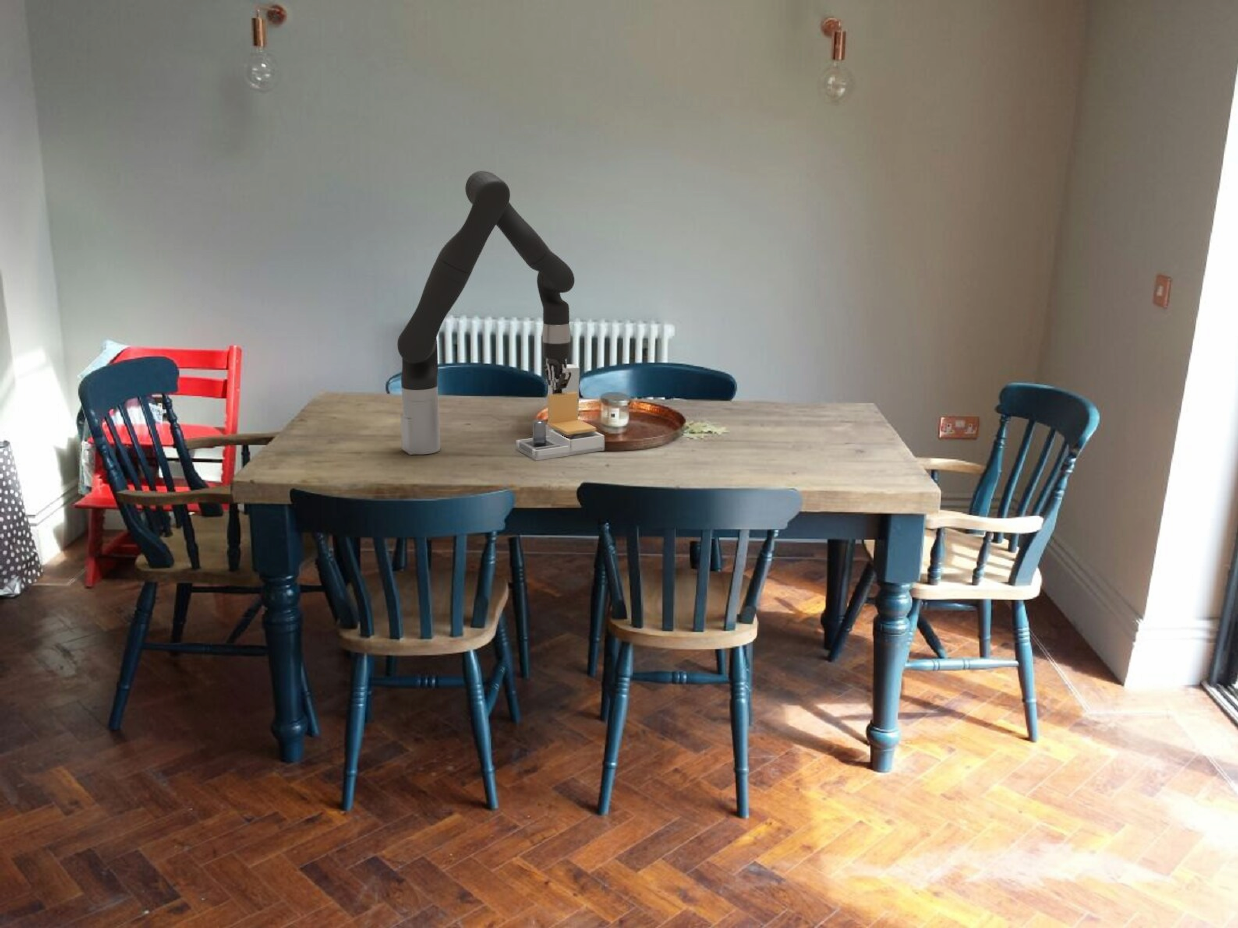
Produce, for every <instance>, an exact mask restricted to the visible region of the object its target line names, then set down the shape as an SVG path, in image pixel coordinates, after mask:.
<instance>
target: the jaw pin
mask: <svg viewBox="0 0 1238 928" xmlns="http://www.w3.org/2000/svg"><path fill="white" fill-rule="evenodd" d="M546 425H547V421H546V420H545V419H534V420H532V438H533V445H532V447H533V448H536V447H543V446H547V444H546Z"/></svg>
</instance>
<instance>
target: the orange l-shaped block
mask: <svg viewBox="0 0 1238 928" xmlns="http://www.w3.org/2000/svg"><path fill="white" fill-rule="evenodd" d="M546 425H548V426H550V427H552V428H554V429H556V430H558V431H560V432H562V433H564V434H566V435H569V434H576V433H583V432H591V431H596V432H597V427H595V426H593V425H591V424H589V423H587V422H584V421H583V420H581V419H579V415H578V393H576V392H567V393H558V394H550V395H548V394H547V421H546Z"/></svg>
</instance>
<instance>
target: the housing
mask: <svg viewBox="0 0 1238 928" xmlns="http://www.w3.org/2000/svg"><path fill="white" fill-rule="evenodd" d="M562 435H563V436H562ZM564 436H571V437H569V438H566V437H564ZM546 444H547V446H543V447H536V448H533V447H532V445H533V437H531V438H523V439H516V440H515V449H516V450H517V451H518V452H520V453H522V454H523V455H525V456H526V457H529V458H530V459H532V460H534V461H542V460H549V459H554V458H556V459H557V458H561V457H562V458H563V457H567V456H568V457H569V456H570V457H571V456H576V455H582V454H588V453H590V454H591V453H595V452H601V451H602V452H603V451H605V435H604V434H602V433H600V432H598V431H597V430H596V431H591V432H583V433H576V434H569V435H566V434H564V433H562V432H560V431H558V430H556V429H554V428H552V427H550V426H548V425H547V424H546Z"/></svg>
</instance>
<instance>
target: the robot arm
mask: <svg viewBox="0 0 1238 928" xmlns="http://www.w3.org/2000/svg"><path fill="white" fill-rule="evenodd" d="M464 188H465V189H464V190H465V195H466V198H467V199H468V201H469V203H470V204H471V207H470V211H469V213H468V216H467V217H466V220H465V221H464V223H463V225H462V226H461V228H460V229H459V230H458V231H457V232H456V234H454V236H453V235H452V237H451V238H450V239H449V240H448V241H447V242H446V244H445V245H443V247H442V249H441V250H440V252H439V253H438V256H437V258H436V259H435V262H434V264H433V266H432V268H431V270H430V273H429V276H428V277H427V280H426V282H425V285H424V288H423V291H422V294H421V296H420V300H419V302H418V304H417V306H416V308H415V310H414V312H413V314H412V316H411V318H410V319H409V320H408V323H407V324H406V325H405V327H404V328H403V330H402V332H401V333H400V334H399V336H398V337H397V338H398V339H397V351H398V353H399V356H400V357H401V363H402V364H401V365H402V366H401V367H402V368H401V376H400V384H401V386H400V387H401V402H402V403H401V405H402V414H400V433H401V448H402V450H403V451H404V452H405V453H407V454H408V455H430V454H435V453H438V452H439V451H440V450H441V435H440V416H439V415H440V412H439V411H440V410H439V409H440V408H439V393H438V392H439V391H438V389H439V388H438V375H439V361H438V360H439V359H438V358H439V357H438V355H439V354H438V351H439V350H438V339H437V337H438V335H439V332H440V330H441V326H442V324H443V323H444V320H445V318H446V317H447V315H448V313H450V310H451V309H452V308H453V306H454V305H455V303H456V302H457V301H458V299H459V297H460V296H461V294H462V292H463V291H464V288H465V287H466V285H467V283H468V281H469V279H470V277H471V276H472V272H473V270H474V268H475V266H476V263H477V261H478V259H479V257H480V256H481V253H482V252H483V250H484V248H485V245H486V242H487V240H488V239H489V237H490V236H491V234H492V232H493V230H494V228H495V227H497V228H498V229H499V230H500V231H501V232H502V234H503V236H505V238H506V239H507V240H508V241H509V243H510V244H511V246H512V247H513V248H514V250H515V251H516V252H517V254H518V255H519V256H520V257H521V259H522V260H523V261H524V262H525V263H526V265H527V266H528V267H529V268H530V269H532V270H534V271H536V272H537V276H536V284H537V290H538V295H539V297H540V302H541V305H542V319H543V320H542V332H541V333H542V357H543V358H545V359H547V361H546V365H542V370H543V373H544V377H545V379H546V383H547V385H551V389H552V394H558V393H562V389H563V388H566V387H567V385H568V382H569V380H570V377H571V372H567V370H566V368H567V359H569V358H570V357H571V354H572V353H571V327H570V326H571V325H570V307H569V303H568V302H567V301H565V300H564V299H563V298H562V296H561V294H563V293H564V294H565V293H568V292H569V291H571V290H572V289H573V287H574V285H575V275H574V272H573V270H572V269H571V267H570V266H569V265H568V264H567V263H566V262H565V261H564V260H562V259H561V257H559V256H558V255H557V254H555V252H553V251H551V249H550V247H549V246H548V245H547V243H545V241H544V240H543V239H542V237H541V236H540V235H539V234H538V233H537V231H535V230H534V228H533V227H532V226H531V225H530V224H529V223H528V222H527V221H526V220H525V218H523V217H522V216H521V215H520V214H519V213H518V212H517V210H516V209H515V208H514V206H512V204H511V203H510V199H511V198H510V197H511V191H510V188H509V186H508V184H507V183H506V182H505V181H504V180H502V178H500V177H498V176H497V175H496V174H494V173H493V172H491V171H487V170H477V171H475V172H473V173H472V174H471V175H469V177H468V178H467V180H466V183H465V186H464Z"/></svg>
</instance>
